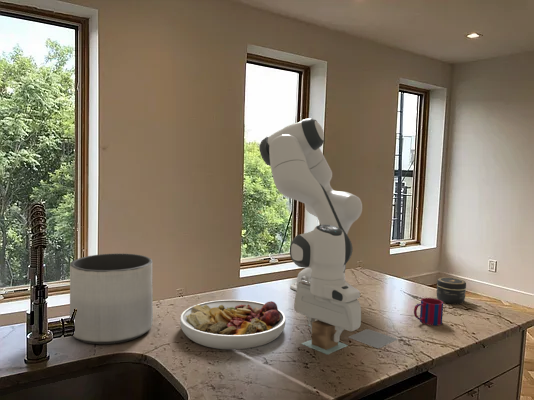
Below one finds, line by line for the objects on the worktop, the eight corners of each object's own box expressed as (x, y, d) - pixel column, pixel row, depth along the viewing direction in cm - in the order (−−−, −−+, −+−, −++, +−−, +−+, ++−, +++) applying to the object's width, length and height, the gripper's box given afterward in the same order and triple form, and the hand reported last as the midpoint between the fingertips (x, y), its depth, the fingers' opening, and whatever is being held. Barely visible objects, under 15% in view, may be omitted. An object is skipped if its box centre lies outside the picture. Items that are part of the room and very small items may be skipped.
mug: (446, 325, 141) (448, 303, 140) (418, 327, 138) (420, 305, 138) (433, 317, 147) (434, 297, 147) (406, 319, 145) (407, 298, 144)
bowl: (200, 363, 110) (201, 332, 109) (167, 322, 136) (168, 297, 136) (304, 343, 124) (305, 315, 123) (256, 309, 150) (257, 286, 150)
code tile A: (300, 345, 121) (300, 343, 121) (322, 337, 128) (322, 335, 128) (327, 356, 115) (327, 354, 115) (348, 347, 121) (348, 345, 121)
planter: (129, 312, 143) (129, 250, 142) (167, 332, 128) (168, 263, 126) (57, 329, 128) (56, 259, 126) (90, 354, 112) (90, 275, 110)
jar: (467, 300, 168) (468, 279, 167) (462, 306, 160) (464, 285, 159) (439, 295, 173) (440, 275, 173) (433, 301, 165) (434, 280, 164)
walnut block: (311, 343, 121) (312, 322, 121) (323, 339, 125) (324, 318, 124) (326, 349, 118) (327, 327, 117) (337, 344, 121) (338, 323, 121)
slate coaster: (347, 339, 127) (347, 337, 127) (367, 330, 134) (367, 328, 134) (378, 350, 120) (378, 348, 120) (397, 341, 127) (397, 339, 127)
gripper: (290, 280, 125) (288, 328, 126) (351, 298, 111) (348, 352, 112) (305, 276, 130) (303, 323, 131) (365, 293, 115) (363, 345, 116)
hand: (324, 337), depth 121 cm, fingers open, 6 cm apart
